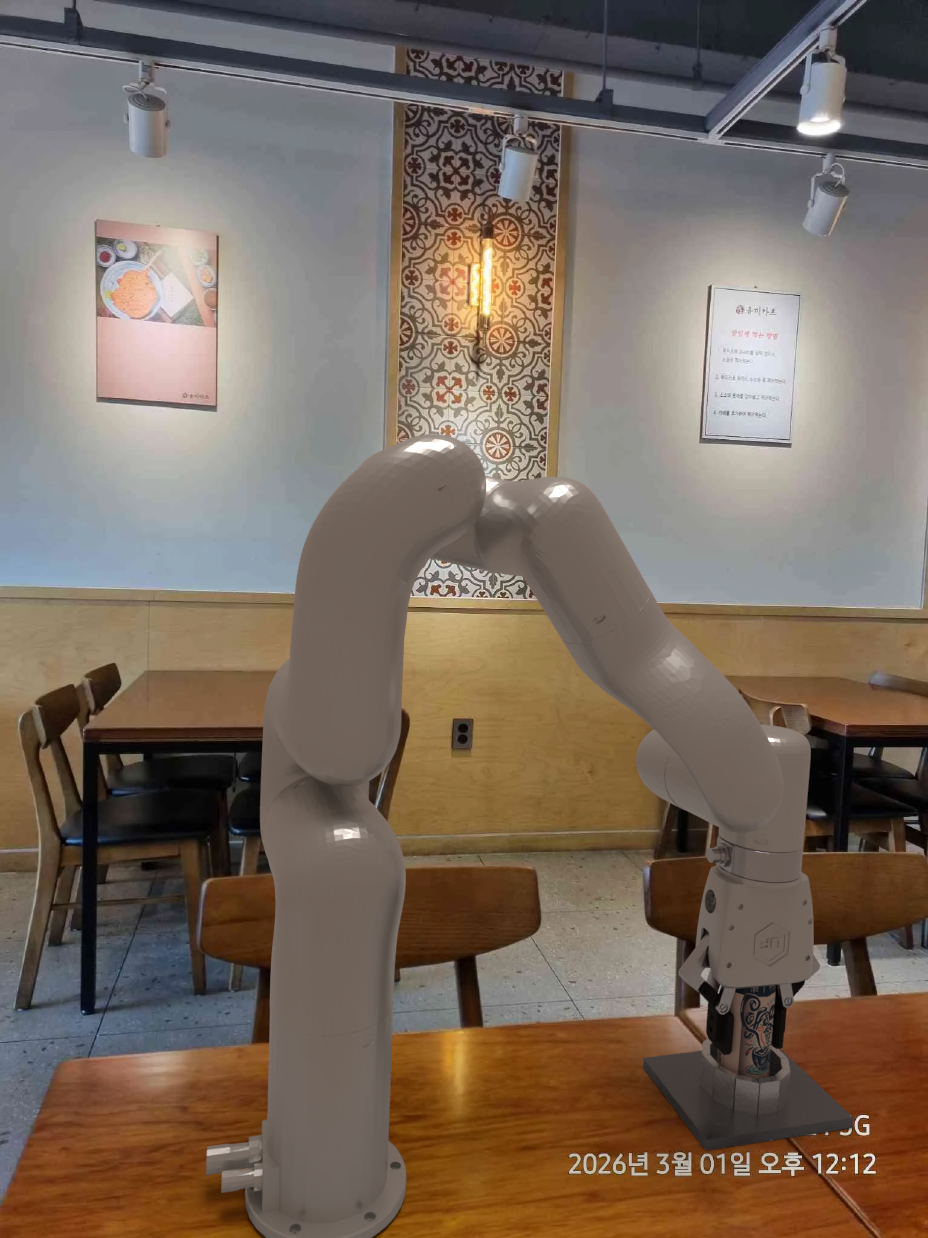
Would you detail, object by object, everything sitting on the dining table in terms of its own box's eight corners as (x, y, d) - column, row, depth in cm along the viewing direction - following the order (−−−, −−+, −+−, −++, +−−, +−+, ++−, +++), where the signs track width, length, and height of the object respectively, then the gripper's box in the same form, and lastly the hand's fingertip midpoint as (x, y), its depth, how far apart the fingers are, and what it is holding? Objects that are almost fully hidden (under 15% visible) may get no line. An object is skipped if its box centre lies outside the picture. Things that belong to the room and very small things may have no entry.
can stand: (705, 1151, 73) (708, 1107, 73) (642, 1067, 84) (645, 1029, 84) (852, 1128, 77) (855, 1086, 76) (772, 1051, 88) (775, 1014, 88)
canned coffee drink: (751, 1098, 77) (761, 972, 76) (706, 1072, 80) (715, 952, 80) (777, 1078, 80) (787, 957, 79) (732, 1054, 84) (741, 938, 83)
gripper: (698, 878, 73) (684, 1078, 74) (863, 868, 77) (847, 1057, 79) (657, 848, 80) (645, 1030, 81) (811, 840, 84) (796, 1014, 86)
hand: (744, 1041), depth 80 cm, fingers closed on canned coffee drink, 4 cm apart
